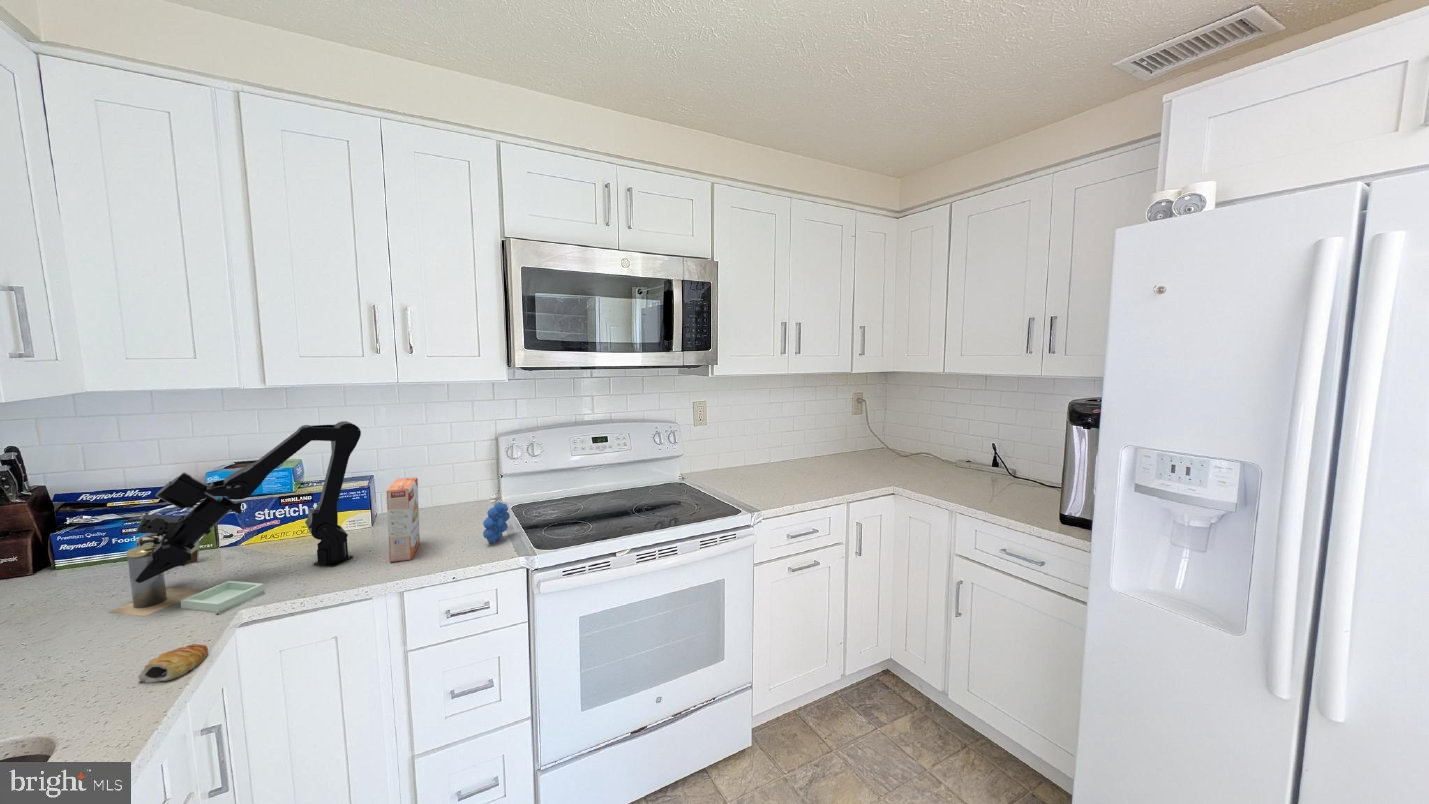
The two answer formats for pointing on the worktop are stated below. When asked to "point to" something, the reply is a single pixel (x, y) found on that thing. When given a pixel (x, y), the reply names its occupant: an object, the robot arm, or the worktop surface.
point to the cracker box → (403, 519)
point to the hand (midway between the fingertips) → (138, 577)
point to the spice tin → (150, 589)
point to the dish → (223, 597)
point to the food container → (149, 537)
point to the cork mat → (172, 598)
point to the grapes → (496, 522)
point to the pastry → (173, 663)
